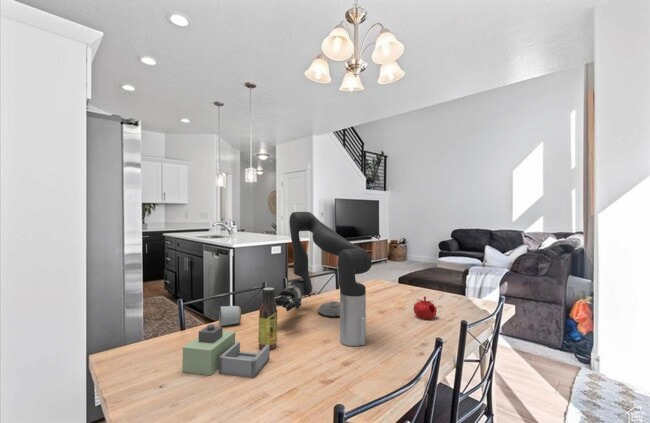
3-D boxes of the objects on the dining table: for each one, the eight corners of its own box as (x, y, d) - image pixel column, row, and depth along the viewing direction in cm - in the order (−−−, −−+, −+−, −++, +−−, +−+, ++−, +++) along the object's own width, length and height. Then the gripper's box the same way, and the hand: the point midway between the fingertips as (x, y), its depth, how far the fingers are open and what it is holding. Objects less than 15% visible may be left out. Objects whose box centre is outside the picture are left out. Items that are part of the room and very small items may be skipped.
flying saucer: (350, 309, 148) (350, 297, 148) (349, 319, 133) (349, 307, 133) (319, 307, 149) (319, 296, 150) (315, 318, 135) (315, 305, 135)
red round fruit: (412, 319, 133) (411, 298, 133) (414, 312, 143) (414, 293, 143) (436, 322, 130) (435, 300, 130) (437, 315, 139) (436, 294, 139)
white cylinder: (241, 325, 124) (242, 306, 124) (220, 328, 120) (221, 309, 120) (237, 318, 133) (237, 300, 133) (217, 321, 130) (217, 302, 130)
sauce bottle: (272, 351, 100) (273, 291, 101) (255, 350, 102) (255, 290, 102) (279, 343, 107) (280, 287, 107) (263, 342, 108) (263, 286, 108)
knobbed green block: (271, 357, 97) (271, 321, 97) (252, 380, 83) (252, 339, 83) (210, 350, 101) (210, 316, 101) (182, 371, 87) (183, 332, 87)
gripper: (274, 286, 129) (258, 296, 114) (306, 288, 127) (294, 298, 111) (274, 304, 129) (258, 316, 113) (306, 306, 126) (294, 319, 111)
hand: (276, 307), depth 112 cm, fingers open, 8 cm apart
